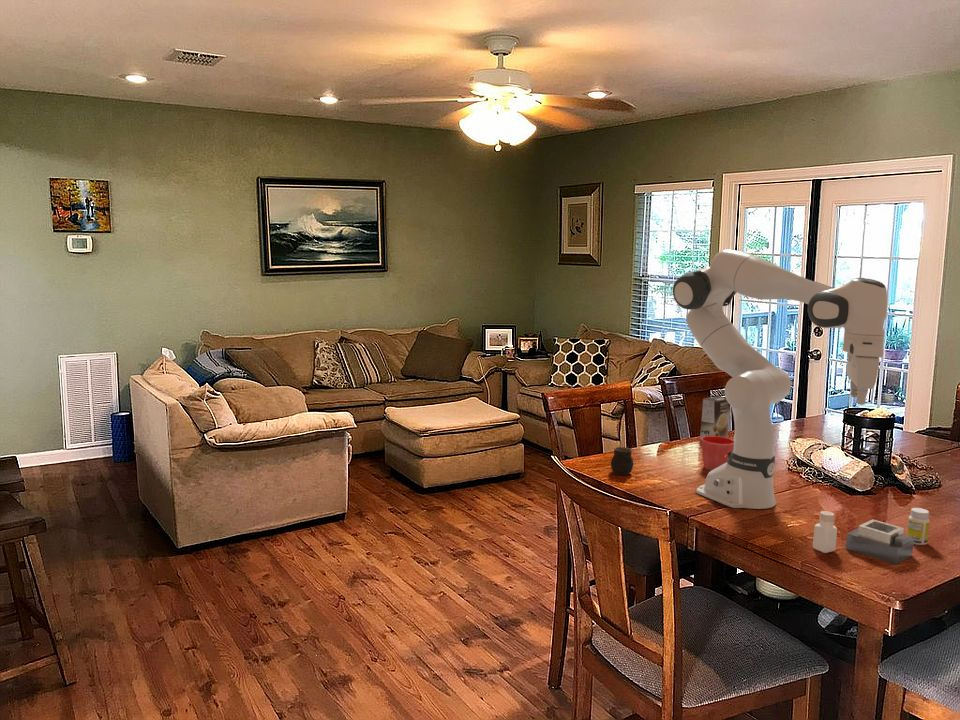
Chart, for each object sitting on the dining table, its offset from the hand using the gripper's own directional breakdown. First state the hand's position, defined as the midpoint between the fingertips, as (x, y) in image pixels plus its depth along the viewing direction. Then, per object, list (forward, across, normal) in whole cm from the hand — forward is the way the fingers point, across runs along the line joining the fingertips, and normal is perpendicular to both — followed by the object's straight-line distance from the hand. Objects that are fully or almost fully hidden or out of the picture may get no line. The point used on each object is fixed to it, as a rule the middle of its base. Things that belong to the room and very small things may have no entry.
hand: (857, 400), depth 194 cm
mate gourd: (+36, -36, -61) cm, 80 cm away
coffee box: (+36, -92, -33) cm, 104 cm away
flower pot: (+36, -54, -32) cm, 72 cm away
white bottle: (+37, +9, -6) cm, 38 cm away
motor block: (+36, +6, +7) cm, 37 cm away
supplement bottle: (+36, -5, +18) cm, 41 cm away
